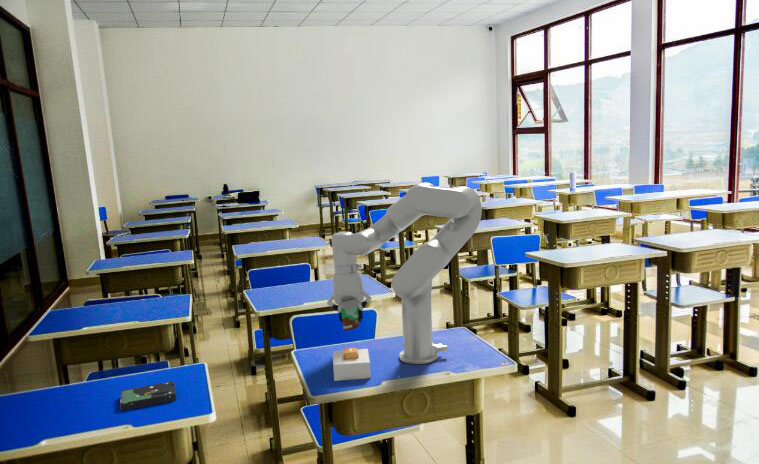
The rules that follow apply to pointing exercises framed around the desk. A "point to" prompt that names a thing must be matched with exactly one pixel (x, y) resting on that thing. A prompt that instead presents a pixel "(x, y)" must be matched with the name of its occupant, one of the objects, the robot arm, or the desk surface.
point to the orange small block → (350, 353)
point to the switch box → (351, 366)
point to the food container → (350, 314)
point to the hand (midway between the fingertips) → (351, 321)
